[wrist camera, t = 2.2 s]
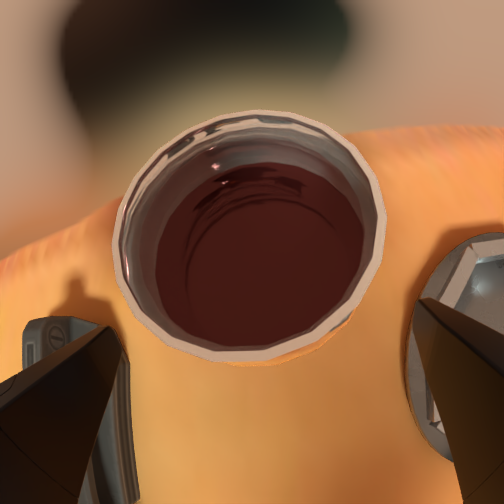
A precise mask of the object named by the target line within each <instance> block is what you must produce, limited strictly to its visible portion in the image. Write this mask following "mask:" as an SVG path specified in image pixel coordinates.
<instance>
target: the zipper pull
mask: <svg viewBox="0 0 504 504" xmlns="http://www.w3.org/2000/svg"><path fill="white" fill-rule="evenodd" d="M98 326H102V325H99V324H95V323H92V322H89V321H86V320H82V319H79V318H76V317H72V316H50V317H44V318H38V319H34V320H31V321H29V322H28V324H27V325H26V327H25V329H24V331H23V335H22V366H23V370H24V369H26V368H28V367H29V366H31V365H33V364H34V363H36V362H38V361H40V360H41V359H43V358H45V357H46V356H48V355H50V354H52V353H53V352H55V351H57V350H58V349H60V348H62V347H64V346H65V345H67V344H69V343H71V342H72V341H74V340H76V339H78V338H79V337H81V336H83V335H84V334H86V333H88V332H90V331H91V330H93V329H95V328H97V327H98ZM114 331H115V330H114ZM115 334H116V336H117V333H116V331H115ZM117 338H118V336H117ZM118 340H119V338H118ZM119 342H120V341H119ZM120 344H121V343H120ZM121 347H122V345H121ZM139 499H140V491H139V484H138V477H137V470H136V461H135V453H134V443H133V431H132V418H131V398H130V363H129V361H128V359H127V356H126V354H125V352H124V350H123V347H122V355H121V358H120V362H119V366H118V370H117V374H116V378H115V382H114V386H113V389H112V393H111V396H110V399H109V402H108V404H107V407H106V410H105V413H104V416H103V419H102V422H101V425H100V428H99V431H98V434H97V437H96V441H95V444H94V447H93V450H92V454H91V457H90V460H89V464H88V467H87V471H86V474H85V478H84V481H83V485H82V489H81V493H80V496H79V501H78V504H133V503H135V502H137V501H138V500H139Z"/></svg>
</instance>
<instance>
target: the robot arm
mask: <svg viewBox="0 0 504 504" xmlns="http://www.w3.org/2000/svg"><path fill="white" fill-rule="evenodd" d="M412 329H413V334H414V337H415V340H416V344H417V348H418V351H419V355H420V358H421V362H422V366H423V370H424V373H425V377H426V379H427V382H428V385H429V388H430V390H431V393H432V396H433V399H434V401H435V404H436V407H437V410H438V413H439V416H440V419H441V422H442V425H443V428H444V431H445V435H446V438H447V441H448V444H449V448H450V451H451V455H452V458H453V462H454V466H455V469H456V473H457V477H458V481H459V486H460V490H461V494H462V499H463V500H464V501H463V504H504V335H503V334H502V333H500V332H498V331H496V330H494V329H492V328H490V327H488V326H486V325H484V324H482V323H481V322H479V321H477V320H475V319H473V318H471V317H469V316H467V315H465V314H463V313H461V312H459V311H457V310H455V309H453V308H451V307H449V306H447V305H445V304H443V303H441V302H439V301H437V300H435V299H433V298H431V297H426V298H421V299H418V300H417V301H416V303H415V308H414V315H413V322H412ZM121 355H122V347H121V344H120V342H119V340H118V338H117V336H116V334H115V331H114V329H113V328H112V327H111V326H98V327H97V328H95V329H93V330H91V331H90V332H88V333H86V334H84V335H83V336H81V337H79V338H78V339H76V340H74V341H72V342H71V343H69V344H67V345H65V346H64V347H62V348H60V349H58V350H57V351H55V352H53V353H52V354H50V355H48V356H46V357H45V358H43V359H41V360H40V361H38V362H36V363H34V364H33V365H31V366H29V367H28V368H26V369H24V370H22V371H21V372H19V373H18V374H16V375H14V376H12V377H10V378H9V379H7V380H5V381H3V382H2V383H0V504H78V501H79V496H80V493H81V489H82V485H83V481H84V478H85V474H86V471H87V467H88V464H89V460H90V457H91V454H92V450H93V447H94V444H95V441H96V437H97V434H98V431H99V428H100V425H101V422H102V419H103V416H104V413H105V410H106V407H107V404H108V402H109V399H110V396H111V393H112V389H113V386H114V382H115V378H116V374H117V370H118V366H119V362H120V358H121Z"/></svg>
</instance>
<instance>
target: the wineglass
mask: <svg viewBox="0 0 504 504" xmlns="http://www.w3.org/2000/svg"><path fill="white" fill-rule="evenodd" d="M386 223H387V214H386V210H385V206H384V202H383V198H382V194H381V191H380V187H379V183H378V180H377V177H376V175H375V174H374V172H373V171H372V169H371V168H370V167H369V165H368V164H367V162H366V161H365V159H364V158H363V157H362V155H361V154H360V152H359V151H358V150H357V148H356V147H355V146H354V145H353V144H351V143H350V142H349V141H347V140H346V139H345V138H343V137H342V136H341V135H339V134H338V133H337V132H335V131H334V130H332V129H331V128H330V127H328V126H327V125H325V124H323V123H320V122H317V121H314V120H312V119H309V118H306V117H304V116H301V115H298V114H295V113H292V112H283V111H271V110H257V109H256V110H248V111H242V112H235V113H229V114H224V115H219V116H217V117H214V118H212V119H209V120H207V121H204V122H202V123H200V124H197V125H195V126H192V127H190V128H188V129H186V130H184V131H183V132H182V133H180V134H179V135H177V136H176V137H174V138H173V139H172V140H170V141H169V142H168V143H166V144H165V145H163V146H162V147H161V148H159V149H158V150H157V151H156V152H155V153H154V154H153V155H152V156H151V158H150V159H149V160H148V161H147V162H146V163H145V165H144V166H143V167H142V168H141V169H140V170H139V172H138V173H137V174H136V175H135V176H134V178H133V180H132V182H131V184H130V186H129V188H128V190H127V192H126V194H125V196H124V198H123V200H122V202H121V204H120V206H119V208H118V211H117V217H116V222H115V227H114V233H113V239H112V254H113V261H114V269H115V276H116V282H117V284H118V286H119V288H120V290H121V292H122V294H123V296H124V298H125V300H126V302H127V304H128V305H129V307H130V309H131V311H132V313H133V315H134V316H135V318H136V319H137V320H139V321H140V322H141V323H142V324H143V325H144V326H145V327H146V328H148V329H149V330H150V331H151V332H152V333H153V334H154V335H156V336H157V337H158V338H159V339H160V340H161V341H163V342H164V343H165V344H166V345H167V346H170V347H173V348H175V349H178V350H181V351H183V352H186V353H189V354H192V355H194V356H197V357H200V358H203V359H206V360H209V361H212V362H223V363H226V364H230V365H233V366H272V365H279V364H282V363H284V362H287V361H290V360H292V359H295V358H298V357H300V356H303V355H305V354H308V353H310V352H313V351H315V350H317V349H318V348H319V347H321V346H322V345H323V344H324V343H325V342H327V341H328V340H329V339H330V338H331V337H332V336H334V335H335V334H336V333H337V332H338V331H339V330H340V329H342V328H343V327H344V326H345V325H346V324H347V323H348V322H349V320H350V319H351V317H352V315H353V314H354V312H355V310H356V308H357V307H358V305H359V303H360V301H361V299H362V298H363V296H364V294H365V292H366V290H367V289H368V287H369V285H370V283H371V281H372V279H373V277H374V275H375V273H376V271H377V269H378V268H379V266H380V264H381V262H382V256H383V248H384V240H385V232H386Z"/></svg>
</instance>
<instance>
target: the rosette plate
mask: <svg viewBox="0 0 504 504" xmlns="http://www.w3.org/2000/svg"><path fill="white" fill-rule="evenodd" d="M426 297H431V298H433V299H435V300H437V301H439V302H441V303H443V304H445V305H447V306H449V307H451V308H453V309H455V310H457V311H459V312H461V313H463V314H465V315H467V316H469V317H471V318H473V319H475V320H477V321H479V322H481V323H482V324H484V325H486V326H488V327H490V328H492V329H494V330H496V331H498V332H500V333H502V334H503V335H504V233H499V232H498V233H486V234H481V235H478V236H475V237H473V238H470V239H468V240H466V241H465V242H463V243H462V244H460V245H458V246H457V247H456V248H455V249H454V250H452V251H451V252H450V253H449V254H448V255H447V256H446V257H445V258H444V259H443V260H442V261H441V262H440V263H439V265H438V266H437V267H436V268H435V269H434V271H433V272H432V274H431V275H430V277H429V278H428V279H427V281H426V283H425V285H424V287H423V289H422V291H421V292H420V294H419V297H418V299H421V298H426ZM418 299H417V300H418ZM414 308H415V307H414ZM413 315H414V310H413V313H412V317H411V320H410V324H409V328H408V334H407V340H406V347H405V360H404V364H405V384H406V392H407V397H408V401H409V405H410V409H411V412H412V415H413V418H414V420H415V423H416V425H417V427H418V429H419V430H420V432H421V434H422V436H423V437H424V439H425V440H426V441H427V442H428V443H429V445H430V446H431V447H432V448H433V449H434V450H435V451H436V452H438V453H439V454H440V455H441V456H443V457H445V458H446V459H448V460H450V461H452V462H453V458H452V455H451V451H450V448H449V444H448V441H447V438H446V435H445V431H444V428H443V425H442V422H441V419H440V416H439V413H438V410H437V407H436V404H435V401H434V399H433V396H432V393H431V390H430V388H429V385H428V382H427V379H426V377H425V373H424V370H423V366H422V362H421V358H420V355H419V351H418V348H417V344H416V340H415V337H414V334H413V329H412V322H413Z"/></svg>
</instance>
